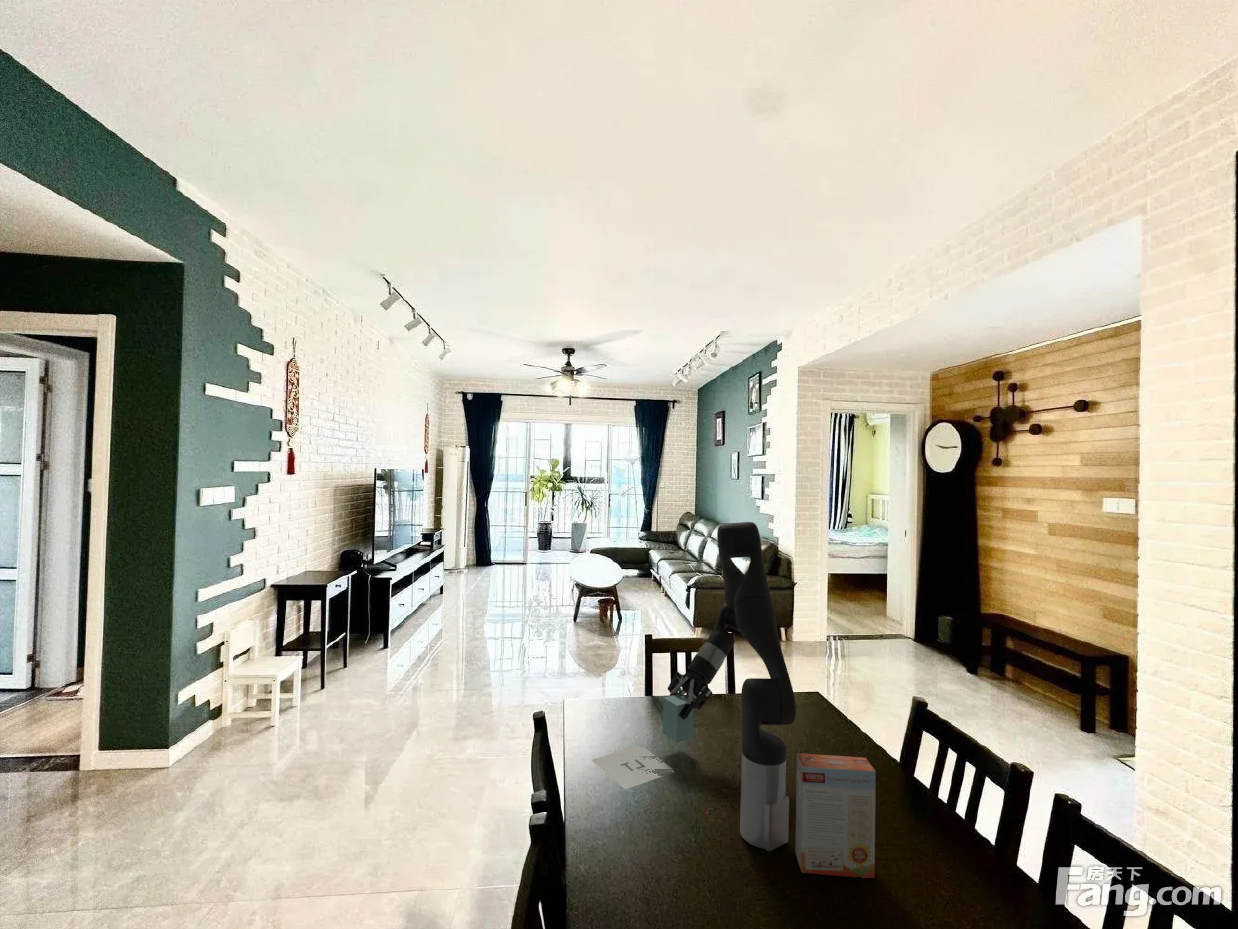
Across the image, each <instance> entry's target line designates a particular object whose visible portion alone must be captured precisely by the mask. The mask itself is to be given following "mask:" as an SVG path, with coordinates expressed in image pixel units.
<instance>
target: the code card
mask: <svg viewBox="0 0 1238 929" xmlns="http://www.w3.org/2000/svg"><path fill="white" fill-rule="evenodd" d="M640 745H641V744H638V745H636V746H637V747H636V746H632V747H630V748H629V747H628V748H626V749H622V750H619V751H616V752H612V753H609V754H607V755H603V756H598V757H597V758H594V759H593V758H592V759H591V761H592V762H593V763H594V764H595V765H597V766H598V767H599V768H600V769H601V770H602V771H603V772H604V773H606V775H607V776H608V777H610V778H612V780H613V781H614V782H616V783H617V784H618V785H619V787H621V788H622V789H623V790H629V789H631V788H634V787H636V786H639V785H642V784H645V783H647V782H650V781H653V780H656V779H658V778H662V777H661V776H658V775H659V774H658V775H657V773H656V774H654V773H652V770H654V769H673V768H672V767H671V766H669V765H668V764H667V763H665V762H664V761H663V763H661V762H660V761H662V759H660V758H659V759H660V761H658V760H659V759H658V757H657V758H655V759H651V758H650V759H651V760H650V759H648V758H649V757H647V758H646V759H645V760H643V759H644V758H642V757H639V756H656V755H655V754H653V753H652V752H650V751H649V750H648V749H646V748H645V747H644V746H642V747H640ZM632 756H633V757H632ZM635 756H637V757H635ZM640 758H641V759H640ZM656 759H658V760H656ZM658 762H659V763H658ZM660 763H661V764H660ZM639 769H640V770H639ZM641 769H644V770H647V769H650V770H648V771H646V772H645V771H644V770H641ZM651 769H652V770H651ZM673 770H674V769H673ZM673 770H672V772H673V773H675V772H674V771H673ZM641 771H642V772H643V773H642V772H641ZM649 771H651V773H650V772H649ZM654 771H655V770H654ZM646 773H648V774H646Z"/></svg>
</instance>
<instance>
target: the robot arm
mask: <svg viewBox="0 0 1238 929" xmlns="http://www.w3.org/2000/svg"><path fill="white" fill-rule="evenodd" d="M717 528H718V529H717V533H716V538H717V539H716V540H717V542H716V543H717V549H718V557H719V561H720V568H721V573H722V577H723V583H724V584H723V586H724V602H725V603H723V604H722V606H721V607H720V610H719V612H718V617H717V620H716V622H715V625H714V627H713V630H712V632H711V633H710V635H709V636H708V638H707V639H706V641H705V642H704V643H703V645H702V646H701V647H700V648H699V649H698V651H697V653H696V654H695V656H694V657H693V658H692V659H691V661H690V663H689V664H688V665H687V672H686V673H684V674H681V673H680V672H679V671H676V672H675V674H674V675H673V677H672V679H671V681H670V683H669V685H668V687H667V691H668V692H669V696H672V695H676V694H682V695H684V696H685V695H686V694H688V702H687V703H688V704H685V706H684V707H683V709H682V710H681V712H680V714H679V716H680V717H681V718H682V719H683V720H685V718H687V717H688V715H689V714H690V712H691V711H692V709H694V710H695V709H696V710H701V709H702V708H703V706H704V705H705V704H706V702H708V700H709V699H710V697H712V695H713V692H712V690H711V689H710V688H709V687H708V686H707V685H710V684H711V683H712V681H713V679H714V678H715V676H716V675H717V673H718V672H719V671H720V669H721V667H722V666H723V664H724V661H725V659H726V658H727V656H728V655H729V653H730V651H731V650H732V648H733V647H734V645H735V641H736V640H735V638H734V636H733V635H732V634H731V633H730V632H729V631H728V630H726V628H727V626H728V627H730V628H732V629H733V630H735V631H737V632H739V633H740V634H741V636H742V637H743V639H745V640H746V642H747V643H748V645H749V646H750V647H751V648H752V649H753V650H754V651H755V652H756V653H757V655H758V656H759V657H760V659H761V660H762V661H763V664H764V665H765V667H766V669H767V673H768V675H769V678H762V677H761V678H760V677H759V678H758V677H757V678H756V677H754V678H752V677H751V678H746V679H745V680H744V681H743V683H742V685H741V694H740V695H741V698H740V699H741V740H742V741H741V745H742V746H741V778H740V780H741V782H740V816H739V817H740V819H739V823H740V824H739V833H740V836H741V837H742V838H743V840H744V841H746V842H747V843H748V844H750V845H751V846H754V847H756V848H760V849H763V850H765V851H767V852H771V851H773V850H775V849H778V848H779V847H781V846H783V845H785V844H787V843H789V826H790V825H789V823H790V822H789V821H790V820H789V817H790V815H789V814H790V797H789V796H788V795H786V783H787V782H786V780H787V779H786V778H787V777H786V776H787V774H786V773H787V746H786V744H785V742H784V741H783V740H782V739H781V738H780V737H779V736H777V735H776V734H772V733H770V732H768V731H766V730H763V729H762V728H761V725H762V726H767V725H768V726H787V725H793V723H794V722H795V720H796V718H797V717H796V716H797V704H796V698H795V697H796V696H795V692H794V689H793V685H792V680H791V677H790V675H789V671H788V667H787V664H786V661H785V657H784V654H783V649H782V645H781V640H780V635H779V630H778V625H777V620H776V619H777V618H776V614H775V609H774V604H773V603H774V602H773V600H772V597H771V592H770V591H771V590H770V588H769V583H768V579H767V575H766V569H765V562H764V555H763V548H762V541H761V535H760V530H759V529H758V526H757V524H756V523H755V522H752V521H741V522H730V523H729V522H728V523H723V524H720V525H719V526H718V527H717ZM734 558H735V559H736V558H737V559H738V558H739V559H740V558H749V559H750V560H749V561H750V562H749V565H748V568H747V571H746V573H745V574H744V572H743V570H741V569H740V568H739V567H738V566H737V565H736V564H735V562H734V561H733V560H732V559H734Z"/></svg>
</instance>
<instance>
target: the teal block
mask: <svg viewBox="0 0 1238 929" xmlns="http://www.w3.org/2000/svg"><path fill="white" fill-rule="evenodd" d="M688 698H689V696H688V697H687V696H686V695H685V694H684V695H682V694H676V695H672V696H670V695H668V696H665V697H663V708H662V710H663V711H662V713H663V714H662V734H663V735H664V736H666V737H667V738H669V739H670V740H671V741H673V742H675V743H676V744H677V743H680V742H684V741H686V740H690V739H693V738H694V728H695V727H694V721H695V720H694V719H695V709H692V711H691V712H690V714H689V715H688V717H687V718H685V720H683V719H682V718H681V717H680V716H679V714H680V712H681V710H682V709H683V707H684V706H685V704H688V703H687V702H688Z"/></svg>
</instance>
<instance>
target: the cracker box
mask: <svg viewBox="0 0 1238 929" xmlns="http://www.w3.org/2000/svg"><path fill="white" fill-rule="evenodd" d="M876 774H877V773H876V770H875V768H874V767H873V765H871V763H870V761H869V760H868V759H867V757H861V756H860V757H858V756H846V755H844V756H843V755H832V754H831V755H829V754H816V753H815V754H814V753H803V752H801V753H800V752H798V753H796V780H795V781H796V782H795V784H796V785H795V788H796V789H795V791H796V792H795V793H796V794H795V856H796V859H797V860H796V861H797V864H798V866H799V869H800V872H801V874H813V875H822V876H835V877H844V878H845V877H846V878H856V877H861V878H860V879H868V878H874V879H875V868H876V867H875V866H876V864H875V863H876V862H875V861H876V859H875V858H876V856H875V855H876V852H875V850H876V848H875V847H876V846H875V845H876V780H877V779H876V777H877V776H876Z"/></svg>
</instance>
